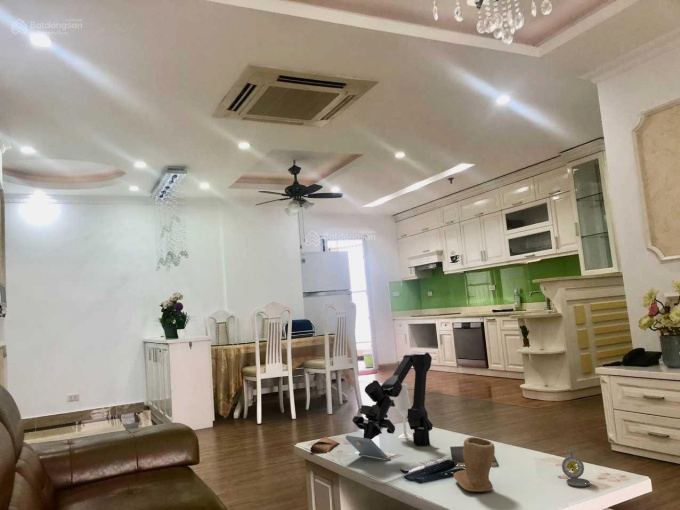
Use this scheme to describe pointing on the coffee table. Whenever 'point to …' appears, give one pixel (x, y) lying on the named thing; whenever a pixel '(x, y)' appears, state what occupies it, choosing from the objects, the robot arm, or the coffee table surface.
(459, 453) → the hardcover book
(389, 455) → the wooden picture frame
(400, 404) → the champagne flute
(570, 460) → the pocket watch
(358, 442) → the door
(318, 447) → the sunglasses case
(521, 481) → the coffee table surface
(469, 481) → the tan boot
